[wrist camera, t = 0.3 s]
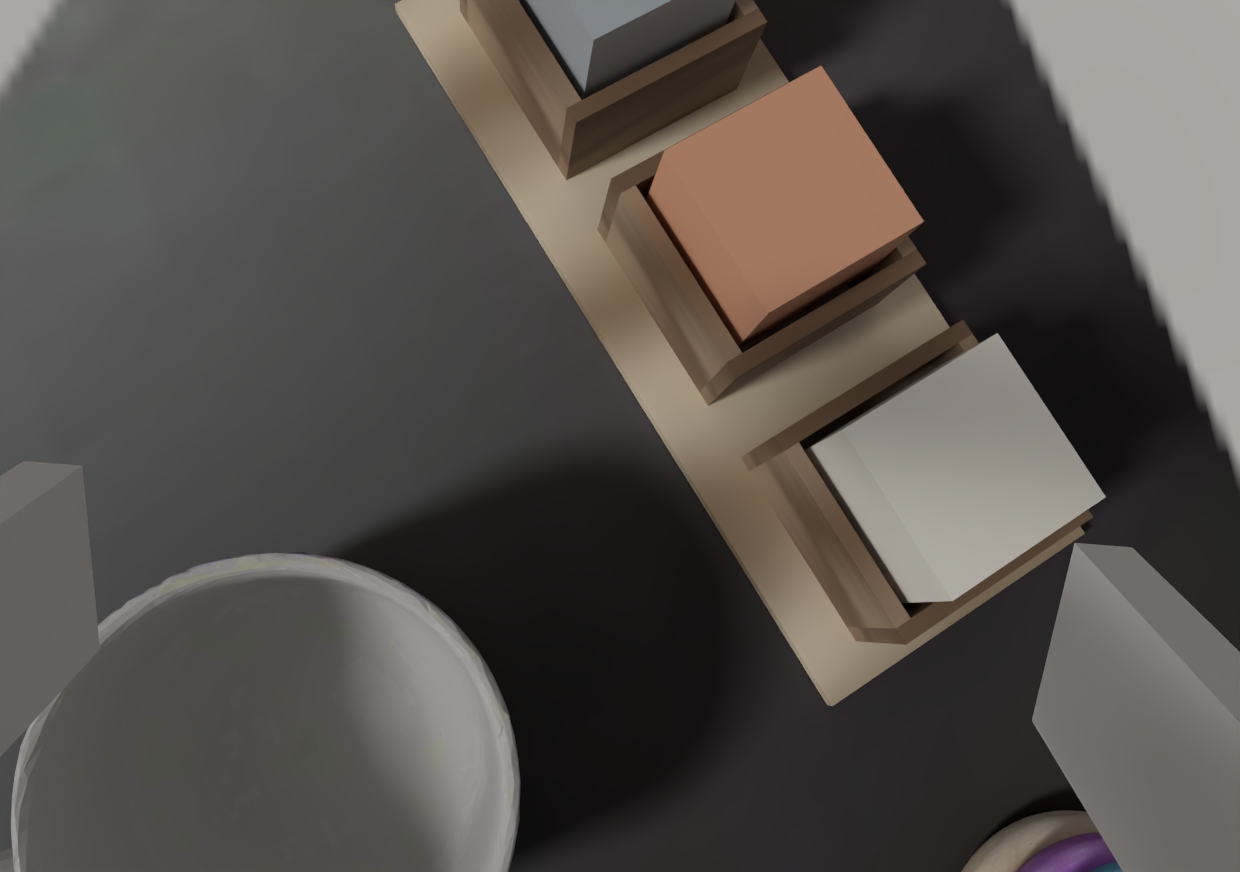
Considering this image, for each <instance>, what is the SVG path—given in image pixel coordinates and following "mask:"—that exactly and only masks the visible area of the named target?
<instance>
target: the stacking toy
mask: <svg viewBox="0 0 1240 872" xmlns="http://www.w3.org/2000/svg"><path fill="white" fill-rule="evenodd" d="M962 872H1123V871H1122V869H1121V868H1120V866H1119V864H1118V863H1117V861H1116V859H1115V858H1114V856H1113V854H1112V853H1111V851H1110V849H1109V848H1108V846H1107V844H1106V843H1105V841H1104V839H1103V838H1102V836H1101V834H1100V833H1099V831H1098V830H1097V828H1096V826H1095V825H1094V823H1093V821H1092V820H1091V818H1090V816H1089V815H1088V813H1087V812H1083V811H1051V812H1044V813H1040V814H1036V815H1032V816H1029V817H1026V818H1023V819H1021V820H1019V821H1016V822H1014V823H1012V824H1010V825H1008V826H1007V827H1005V828H1003V829H1001V830H1000V831H999V832H997V833H996V834H995V835H993V836H992V837H991V838H989V839H988V840H987V841H986V842H985V843H984V844H983V845H982V846H981V847H980V848H979V849H978V850H977V851H976V852H975V853H974V854H973V856H972V857H971V858H970V860H969V861H968V862H967V864H966V865H965V867H964V868H963V870H962Z"/></svg>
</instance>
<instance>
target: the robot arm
mask: <svg viewBox="0 0 1240 872" xmlns="http://www.w3.org/2000/svg"><path fill="white" fill-rule="evenodd" d="M99 650H100V644H99V634H98V624H97V614H96V603H95V593H94V583H93V573H92V562H91V552H90V542H89V532H88V522H87V511H86V501H85V491H84V481H83V470H82V466H78V465H65V464H52V463H40V462H27V461H23V462H22V463H20V464H19V465H17V466H15V467H14V468H12V469H11V470H9V471H8V472H6V473H4V474H3V475H1V476H0V757H1V756H2V754H3V753H4V752H5V751H6V750H7V749H8V748H9V747H10V746H11V745H12V744H13V743H14V742H15V740H16V739H17V738H18V737H19V736H20V735H21V734H22V733H23V732H24V731H25V730H26V729H27V728H28V726H29V725H30V724H31V723H32V722H33V721H34V720H35V719H36V718H37V717H38V716H39V715H40V714H41V712H42V711H43V710H44V709H45V708H46V707H47V706H48V705H49V704H50V703H51V702H52V701H53V700H54V698H55V697H56V696H57V695H58V694H59V693H60V692H61V691H62V690H63V689H64V688H65V687H66V686H67V684H68V683H69V682H70V681H71V680H72V679H73V678H74V677H75V676H76V675H77V674H78V673H79V672H80V670H81V669H82V668H83V667H84V666H85V665H86V664H87V663H88V662H89V661H90V660H91V659H92V658H93V656H94V655H95V654H96V653H97V652H98V651H99ZM1032 721H1033V723H1034V725H1035V726H1036V728H1037V730H1038V731H1039V733H1040V735H1041V736H1042V738H1043V740H1044V741H1045V743H1046V745H1047V746H1048V748H1049V750H1050V751H1051V753H1052V755H1053V756H1054V758H1055V760H1056V761H1057V763H1058V765H1059V766H1060V768H1061V770H1062V771H1063V773H1064V775H1065V776H1066V778H1067V780H1068V781H1069V783H1070V785H1071V786H1072V788H1073V790H1074V791H1075V793H1076V795H1077V796H1078V798H1079V800H1080V801H1081V803H1082V805H1083V806H1084V808H1085V810H1086V811H1087V813H1088V815H1089V816H1090V818H1091V820H1092V821H1093V823H1094V825H1095V826H1096V828H1097V830H1098V831H1099V833H1100V834H1101V836H1102V838H1103V839H1104V841H1105V843H1106V844H1107V846H1108V848H1109V849H1110V851H1111V853H1112V854H1113V856H1114V858H1115V859H1116V861H1117V863H1118V864H1119V866H1120V868H1121V869H1122V871H1123V872H1240V652H1239V651H1238V650H1237V649H1236V648H1235V647H1234V646H1233V645H1232V644H1231V643H1230V642H1229V641H1228V640H1227V639H1226V638H1225V637H1224V636H1223V635H1221V634H1220V633H1219V632H1218V631H1217V630H1216V629H1215V628H1214V627H1213V626H1212V625H1211V624H1210V623H1209V622H1208V621H1207V620H1206V619H1205V618H1204V617H1203V616H1202V615H1201V614H1200V613H1199V612H1198V611H1197V610H1196V609H1195V608H1194V607H1193V606H1192V605H1191V604H1190V603H1189V602H1188V601H1187V600H1186V599H1184V598H1183V597H1182V596H1181V595H1180V594H1179V593H1178V592H1177V591H1176V590H1175V589H1174V588H1173V587H1172V586H1171V585H1170V584H1169V583H1168V582H1167V581H1166V580H1165V579H1164V578H1163V577H1162V576H1161V575H1160V574H1159V573H1158V572H1157V571H1156V570H1155V569H1154V568H1153V567H1152V566H1151V565H1150V564H1148V563H1147V562H1146V561H1145V560H1144V559H1143V558H1142V557H1141V556H1140V555H1139V554H1138V553H1137V552H1136V551H1135V550H1134V549H1133V548H1132V547H1119V546H1106V545H1093V544H1081V543H1075V544H1074V548H1073V552H1072V556H1071V560H1070V564H1069V569H1068V573H1067V577H1066V581H1065V585H1064V589H1063V593H1062V598H1061V602H1060V606H1059V610H1058V614H1057V618H1056V623H1055V627H1054V631H1053V635H1052V639H1051V643H1050V647H1049V652H1048V656H1047V660H1046V664H1045V668H1044V672H1043V677H1042V681H1041V685H1040V689H1039V693H1038V697H1037V701H1036V706H1035V710H1034V714H1033V718H1032Z"/></svg>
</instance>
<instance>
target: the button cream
mask: <svg viewBox="0 0 1240 872" xmlns="http://www.w3.org/2000/svg"><path fill="white" fill-rule="evenodd" d="M804 451H805V453H806V454H807V456H808V458H809V459H810V461H811V462H812V464H813V465H814V467H815V469H816V470H817V472H818V473H819V475H820V476H821V478H822V480H823V481H824V483H825V484H826V486H827V487H828V489H829V491H830V492H831V494H832V495H833V497H834V498H835V500H836V502H837V503H838V505H839V506H840V508H841V510H842V511H843V513H844V514H845V516H846V517H847V519H848V521H849V522H850V524H851V525H852V527H853V528H854V530H855V532H856V533H857V535H858V536H859V538H860V539H861V541H862V543H863V544H864V546H865V547H866V549H867V550H868V552H869V554H870V555H871V557H872V558H873V560H874V562H875V563H876V565H877V566H878V568H879V569H880V571H881V573H882V574H883V576H884V577H885V579H886V580H887V582H888V584H889V585H890V587H891V588H892V590H893V591H894V593H895V595H896V596H897V598H898V599H899V601H900V602H901V603H915V602H942V601H954V600H955V599H956V598H958V597H959V596H961V595H962V594H964V593H965V592H967V591H968V590H970V589H971V588H973V587H974V586H976V585H977V584H979V583H980V582H981V581H983V580H984V579H986V578H987V577H989V576H990V575H992V574H993V573H995V572H996V571H998V570H999V569H1001V568H1002V567H1004V566H1005V565H1006V564H1008V563H1009V562H1011V561H1012V560H1014V559H1015V558H1017V557H1018V556H1020V555H1021V554H1023V553H1024V552H1026V551H1027V550H1029V549H1030V548H1032V547H1033V546H1034V545H1036V544H1037V543H1039V542H1040V541H1042V540H1043V539H1045V538H1046V537H1048V536H1049V535H1051V534H1052V533H1054V532H1055V531H1057V530H1058V529H1059V528H1061V527H1062V526H1064V525H1065V524H1067V523H1068V522H1070V521H1071V520H1073V519H1074V518H1076V517H1077V516H1079V515H1080V514H1082V513H1083V512H1085V511H1086V510H1087V509H1089V508H1090V507H1092V506H1093V505H1095V504H1096V503H1098V502H1099V501H1101V500H1102V499H1104V498H1105V497H1106V496H1105V495H1104V493H1103V492H1102V490H1101V489H1100V487H1099V486H1098V484H1097V483H1096V481H1095V480H1094V478H1093V477H1092V475H1091V474H1090V472H1089V471H1088V469H1087V468H1086V466H1085V465H1084V463H1083V462H1082V460H1081V459H1080V457H1079V456H1078V454H1077V453H1076V451H1075V449H1074V448H1073V446H1072V445H1071V443H1070V442H1069V440H1068V439H1067V437H1066V436H1065V434H1064V433H1063V431H1062V430H1061V428H1060V427H1059V425H1058V424H1057V422H1056V421H1055V419H1054V418H1053V416H1052V415H1051V413H1050V412H1049V410H1048V409H1047V407H1046V406H1045V404H1044V403H1043V401H1042V399H1041V398H1040V396H1039V395H1038V393H1037V392H1036V390H1035V389H1034V387H1033V386H1032V384H1031V383H1030V381H1029V380H1028V378H1027V377H1026V375H1025V374H1024V372H1023V371H1022V369H1021V368H1020V366H1019V365H1018V363H1017V362H1016V360H1015V359H1014V357H1013V356H1012V354H1011V352H1010V351H1009V349H1008V348H1007V346H1006V345H1005V343H1004V342H1003V340H1002V339H1001V337H1000V336H999V334H998V333H997V334H995V335H993V336H991V337H989V338H988V339H986V340H984V341H982V342H981V343H979V344H977V345H975V346H974V347H972V348H970V349H968V350H966V351H965V352H963V353H961V354H959V355H958V356H956V357H954V358H952V359H951V360H949V361H947V362H945V363H943V364H942V365H940V366H938V367H936V368H935V369H933V370H931V371H930V372H928V373H927V374H925V375H923V376H922V377H920V378H919V379H917V380H915V381H914V382H912V383H911V384H909V385H907V386H906V387H904V388H903V389H901V390H899V391H898V392H896V393H895V394H893V395H891V396H890V397H888V398H887V399H885V400H883V401H882V402H880V403H878V404H877V405H875V406H874V407H872V408H870V409H869V410H867V411H866V412H864V413H862V414H861V415H859V416H858V417H856V418H854V419H853V420H851V421H850V422H848V423H846V424H845V425H843V426H842V427H840V428H838V429H837V430H835V431H834V432H832V433H830V434H829V435H827V436H826V437H824V438H822V439H821V440H819V441H818V442H816V443H814V444H813V445H811V446H810V447H808V448H806V449H805V450H804Z"/></svg>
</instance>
